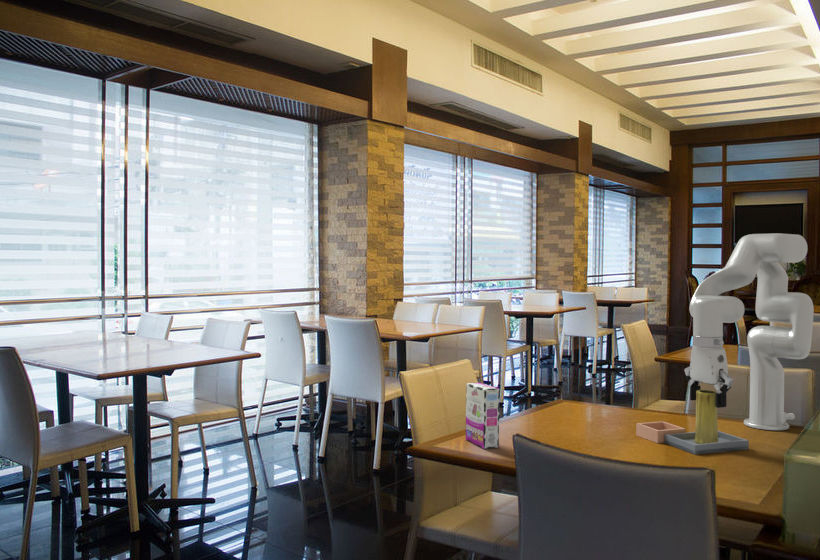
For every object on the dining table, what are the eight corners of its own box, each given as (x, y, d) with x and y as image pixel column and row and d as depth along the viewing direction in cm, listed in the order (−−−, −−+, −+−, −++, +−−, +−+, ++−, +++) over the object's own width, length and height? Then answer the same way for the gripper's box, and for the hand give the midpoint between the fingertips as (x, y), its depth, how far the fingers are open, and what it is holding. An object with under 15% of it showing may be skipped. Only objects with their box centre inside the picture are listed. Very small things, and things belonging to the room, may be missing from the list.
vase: (720, 445, 181) (721, 393, 181) (696, 444, 183) (697, 393, 182) (715, 440, 187) (715, 389, 187) (692, 439, 189) (692, 389, 188)
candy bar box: (500, 448, 182) (500, 388, 181) (484, 449, 180) (484, 389, 179) (480, 438, 192) (480, 381, 192) (464, 439, 190) (465, 382, 190)
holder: (663, 432, 200) (663, 421, 200) (685, 440, 191) (685, 428, 191) (636, 435, 197) (636, 423, 197) (657, 443, 188) (657, 431, 188)
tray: (715, 438, 193) (716, 430, 193) (748, 449, 182) (748, 440, 182) (664, 443, 188) (664, 434, 188) (694, 454, 177) (694, 445, 176)
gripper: (742, 345, 178) (742, 409, 178) (696, 338, 194) (696, 396, 195) (720, 347, 175) (720, 411, 176) (675, 339, 192) (675, 398, 192)
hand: (707, 403), depth 185 cm, fingers open, 9 cm apart
